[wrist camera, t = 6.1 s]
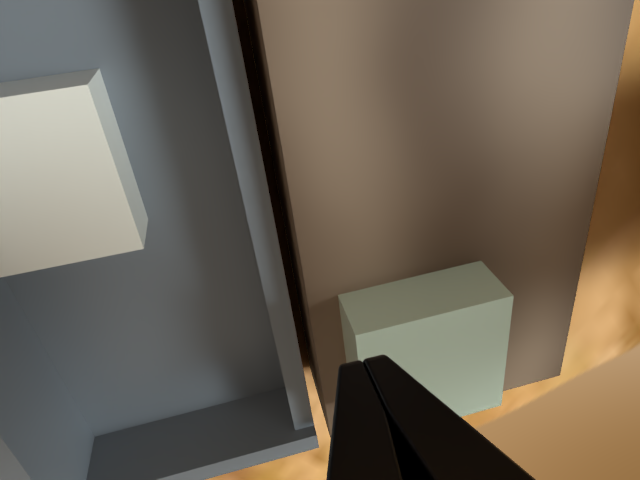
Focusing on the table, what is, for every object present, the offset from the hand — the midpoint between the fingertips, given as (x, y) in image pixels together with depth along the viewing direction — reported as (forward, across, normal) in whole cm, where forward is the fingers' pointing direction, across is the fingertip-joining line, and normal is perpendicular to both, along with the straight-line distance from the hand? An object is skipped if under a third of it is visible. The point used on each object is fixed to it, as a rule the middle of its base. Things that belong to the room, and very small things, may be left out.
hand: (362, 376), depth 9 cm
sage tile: (+7, -3, +6) cm, 9 cm away
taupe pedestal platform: (+11, -5, +1) cm, 12 cm away
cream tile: (+8, +7, -2) cm, 11 cm away
